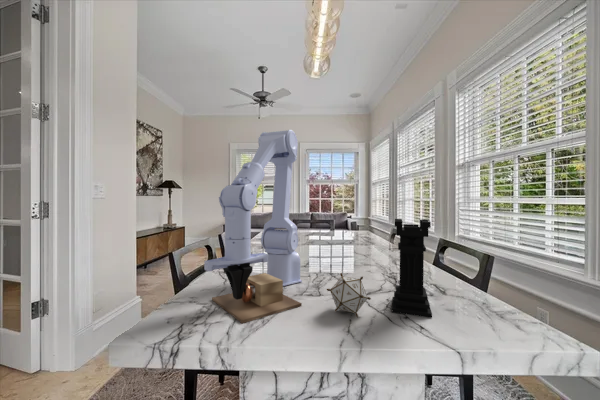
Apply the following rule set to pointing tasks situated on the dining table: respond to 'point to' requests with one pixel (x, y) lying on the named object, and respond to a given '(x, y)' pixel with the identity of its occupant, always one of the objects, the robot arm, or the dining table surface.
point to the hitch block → (258, 299)
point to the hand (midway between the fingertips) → (237, 297)
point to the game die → (348, 294)
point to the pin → (248, 293)
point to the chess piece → (411, 270)
